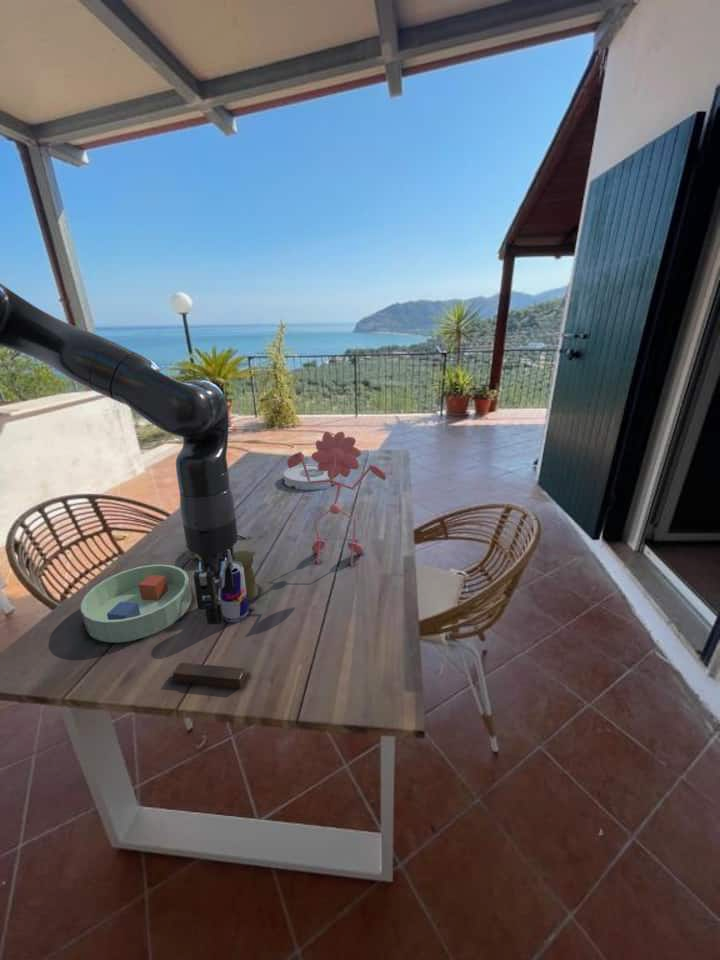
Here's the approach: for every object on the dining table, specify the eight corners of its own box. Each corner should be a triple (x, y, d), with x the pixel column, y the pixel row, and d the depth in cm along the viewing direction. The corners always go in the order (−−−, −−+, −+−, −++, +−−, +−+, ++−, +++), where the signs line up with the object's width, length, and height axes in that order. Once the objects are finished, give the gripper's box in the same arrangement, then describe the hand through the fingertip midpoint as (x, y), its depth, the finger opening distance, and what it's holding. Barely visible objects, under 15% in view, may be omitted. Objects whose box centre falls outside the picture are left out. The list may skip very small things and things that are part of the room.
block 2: (158, 600, 89) (155, 585, 87) (141, 599, 89) (138, 584, 88) (168, 590, 92) (165, 575, 91) (152, 589, 93) (149, 574, 91)
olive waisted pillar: (263, 590, 93) (259, 550, 89) (247, 605, 88) (241, 563, 84) (244, 584, 95) (239, 545, 92) (226, 598, 90) (220, 557, 86)
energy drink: (235, 626, 81) (228, 577, 77) (218, 617, 84) (210, 570, 80) (254, 612, 86) (248, 565, 82) (237, 604, 88) (231, 558, 84)
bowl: (87, 660, 73) (80, 636, 71) (87, 602, 89) (81, 582, 87) (200, 619, 83) (197, 598, 82) (182, 574, 99) (179, 556, 98)
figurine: (383, 570, 101) (386, 439, 89) (287, 564, 104) (277, 436, 92) (386, 541, 115) (389, 425, 104) (302, 536, 118) (295, 423, 107)
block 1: (129, 631, 79) (125, 615, 78) (110, 630, 80) (106, 613, 78) (141, 618, 83) (137, 602, 82) (124, 617, 83) (120, 601, 82)
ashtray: (284, 473, 175) (283, 465, 173) (335, 470, 179) (335, 462, 177) (284, 492, 153) (283, 483, 152) (342, 488, 157) (342, 479, 156)
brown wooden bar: (175, 683, 68) (172, 673, 67) (182, 672, 70) (180, 662, 69) (240, 690, 67) (239, 679, 66) (246, 678, 69) (244, 668, 68)
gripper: (197, 499, 65) (209, 581, 71) (166, 540, 52) (184, 637, 57) (242, 497, 66) (251, 579, 71) (224, 537, 53) (236, 633, 58)
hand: (221, 605), depth 64 cm, fingers open, 8 cm apart
